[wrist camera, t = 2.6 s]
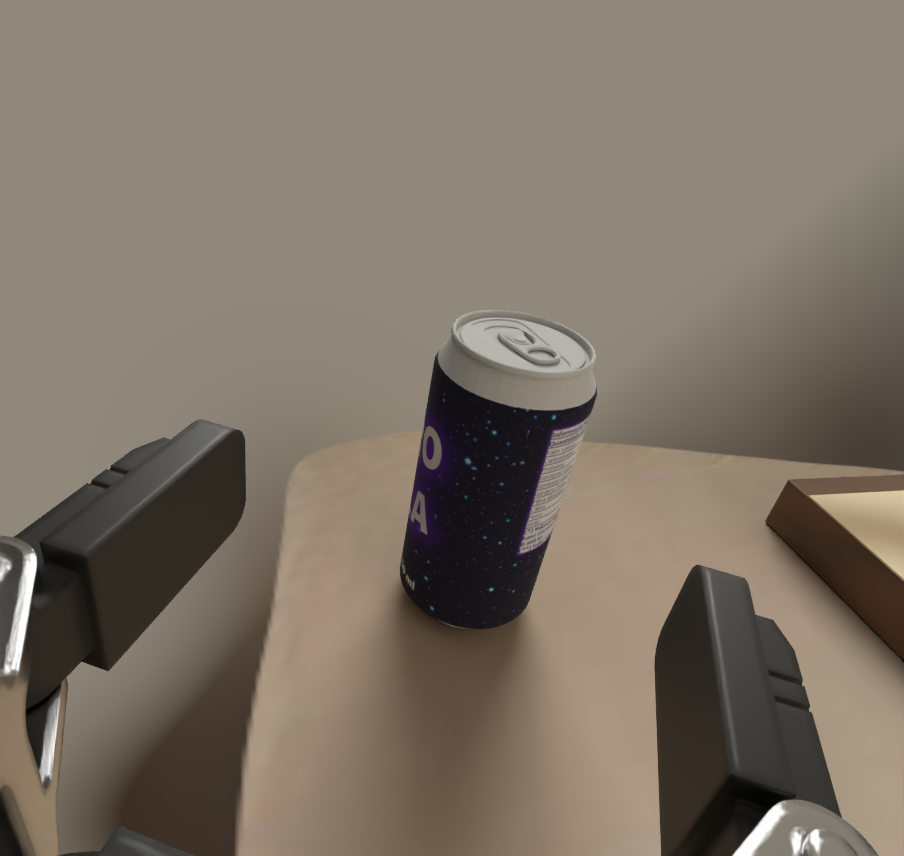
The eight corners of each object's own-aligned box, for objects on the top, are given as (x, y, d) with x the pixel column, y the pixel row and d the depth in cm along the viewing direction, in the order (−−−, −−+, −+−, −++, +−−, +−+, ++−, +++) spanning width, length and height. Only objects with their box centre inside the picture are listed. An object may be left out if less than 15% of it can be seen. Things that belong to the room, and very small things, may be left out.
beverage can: (478, 532, 30) (535, 300, 24) (552, 615, 27) (643, 367, 20) (374, 565, 27) (409, 311, 21) (441, 665, 24) (508, 391, 17)
